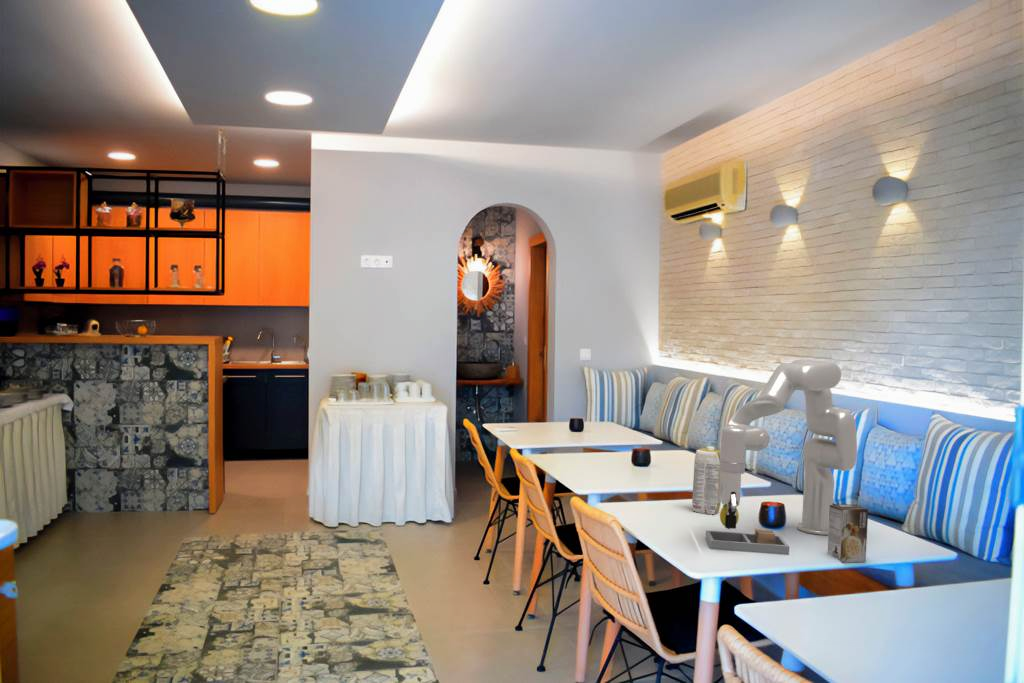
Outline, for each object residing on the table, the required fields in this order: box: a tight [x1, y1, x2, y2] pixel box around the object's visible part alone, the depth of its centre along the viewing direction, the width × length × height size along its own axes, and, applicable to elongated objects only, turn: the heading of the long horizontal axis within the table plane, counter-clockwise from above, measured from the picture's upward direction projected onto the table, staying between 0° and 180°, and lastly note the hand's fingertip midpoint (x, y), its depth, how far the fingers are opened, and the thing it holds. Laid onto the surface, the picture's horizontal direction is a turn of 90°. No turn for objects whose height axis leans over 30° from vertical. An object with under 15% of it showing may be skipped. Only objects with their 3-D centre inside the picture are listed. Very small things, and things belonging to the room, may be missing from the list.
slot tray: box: [704, 529, 790, 556], centre depth 251 cm, size 12×23×4 cm, turn 84°
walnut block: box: [754, 528, 776, 545], centre depth 250 cm, size 5×5×5 cm
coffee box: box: [827, 504, 869, 564], centre depth 245 cm, size 9×6×16 cm
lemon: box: [719, 503, 740, 530], centre depth 251 cm, size 6×6×8 cm
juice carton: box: [691, 445, 722, 515], centre depth 298 cm, size 9×8×24 cm
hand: (728, 524), depth 251 cm, fingers closed on lemon, 5 cm apart
